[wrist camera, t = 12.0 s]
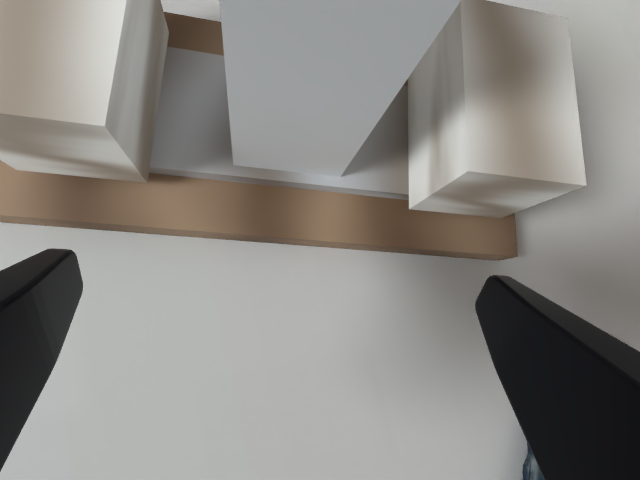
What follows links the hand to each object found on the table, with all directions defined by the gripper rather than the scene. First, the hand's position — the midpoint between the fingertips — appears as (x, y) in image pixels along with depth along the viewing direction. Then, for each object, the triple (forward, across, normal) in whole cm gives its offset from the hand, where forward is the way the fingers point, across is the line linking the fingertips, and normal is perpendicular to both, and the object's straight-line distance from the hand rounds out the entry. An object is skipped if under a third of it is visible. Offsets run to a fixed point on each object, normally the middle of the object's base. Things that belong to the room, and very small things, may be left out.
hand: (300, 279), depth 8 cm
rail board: (+13, 0, +2) cm, 13 cm away
